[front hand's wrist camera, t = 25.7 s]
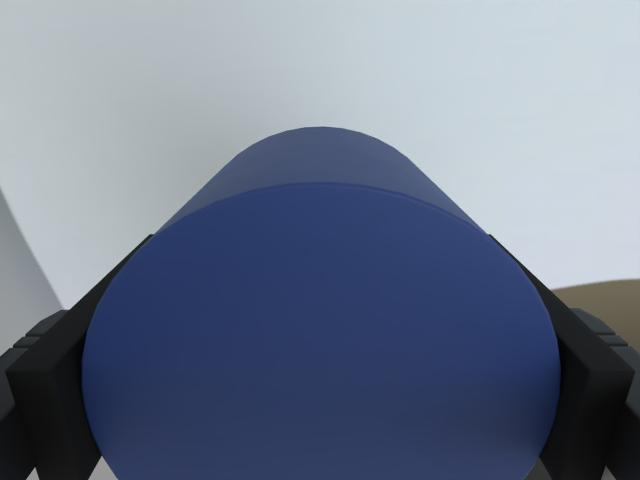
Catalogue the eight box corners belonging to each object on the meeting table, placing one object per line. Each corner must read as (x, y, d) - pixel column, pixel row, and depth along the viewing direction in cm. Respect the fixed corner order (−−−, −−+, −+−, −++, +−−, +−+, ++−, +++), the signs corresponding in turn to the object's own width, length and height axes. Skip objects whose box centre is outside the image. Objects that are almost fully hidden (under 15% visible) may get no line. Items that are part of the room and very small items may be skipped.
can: (151, 295, 16) (16, 474, 9) (270, 69, 13) (210, 63, 6) (358, 397, 17) (384, 616, 10) (502, 216, 15) (670, 347, 8)
